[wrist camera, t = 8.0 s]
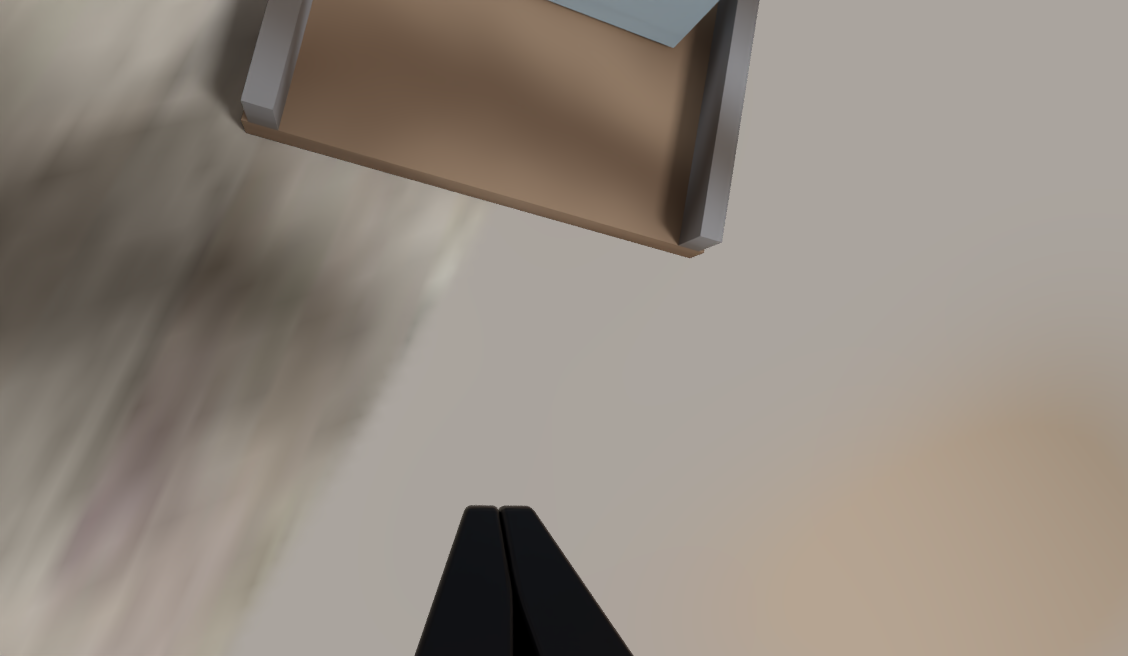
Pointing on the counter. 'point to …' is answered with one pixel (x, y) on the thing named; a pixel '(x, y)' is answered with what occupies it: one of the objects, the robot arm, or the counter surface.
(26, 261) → the counter surface
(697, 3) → the box
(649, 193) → the brown wooden tray
